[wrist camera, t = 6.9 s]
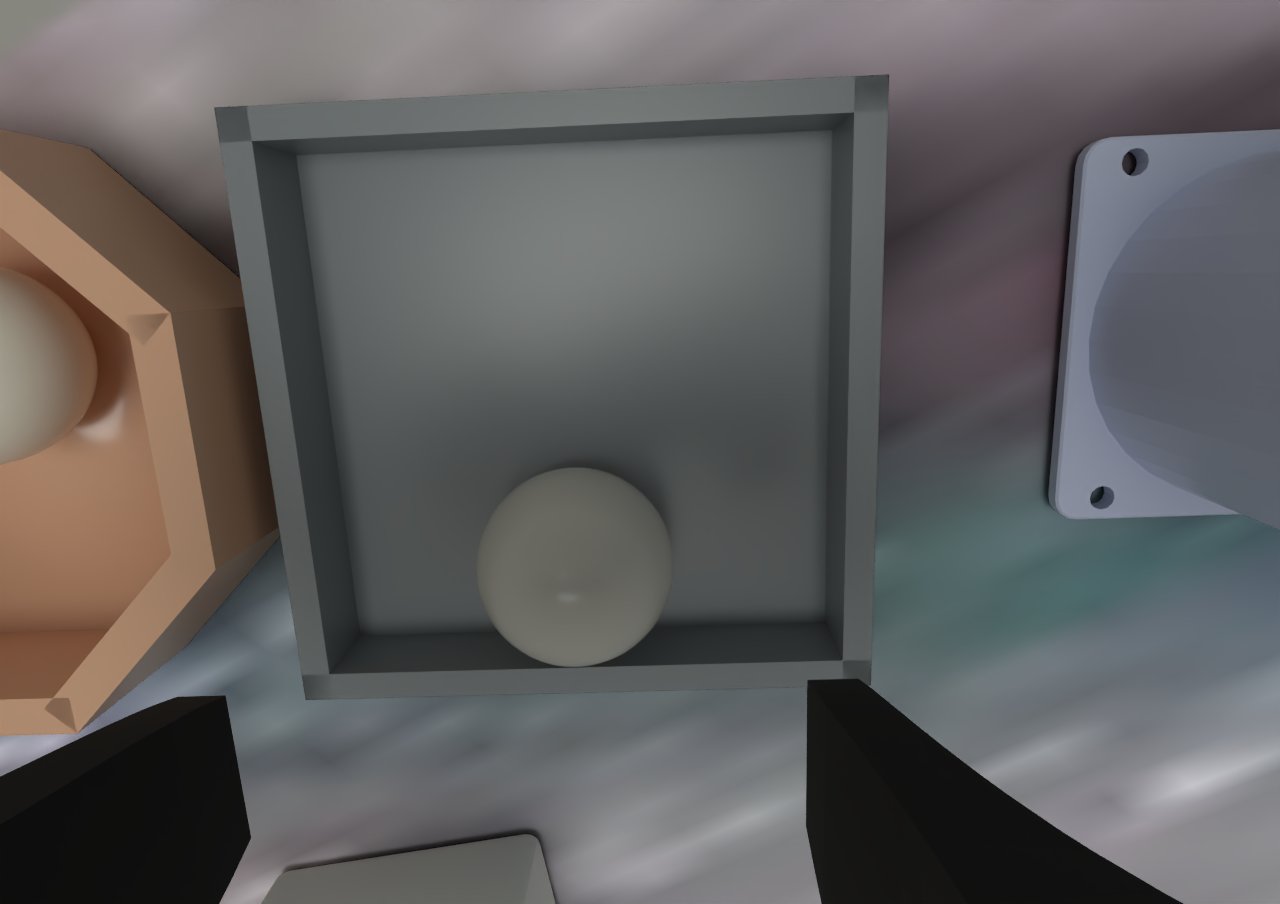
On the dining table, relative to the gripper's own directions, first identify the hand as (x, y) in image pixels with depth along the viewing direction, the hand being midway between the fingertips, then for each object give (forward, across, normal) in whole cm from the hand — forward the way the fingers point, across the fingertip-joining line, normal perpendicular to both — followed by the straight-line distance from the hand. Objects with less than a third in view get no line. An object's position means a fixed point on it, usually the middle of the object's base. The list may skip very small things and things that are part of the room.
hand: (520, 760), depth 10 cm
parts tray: (+9, 0, -3) cm, 9 cm away
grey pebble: (+8, 0, 0) cm, 8 cm away
